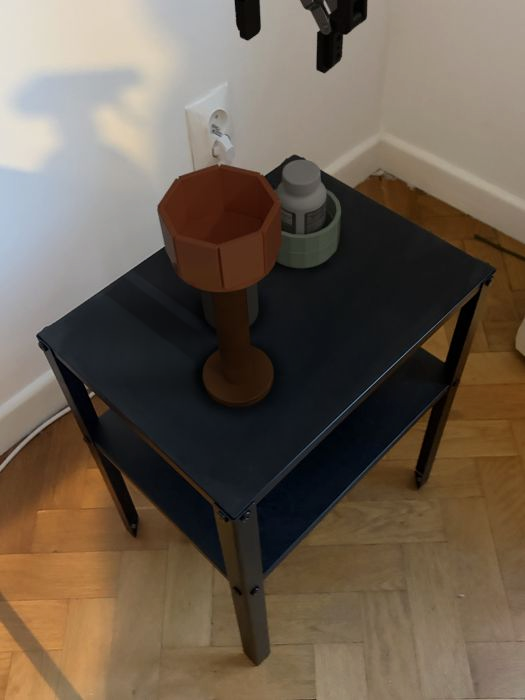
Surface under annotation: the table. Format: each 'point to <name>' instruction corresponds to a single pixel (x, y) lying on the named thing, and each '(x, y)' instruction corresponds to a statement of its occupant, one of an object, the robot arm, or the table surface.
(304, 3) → the robot arm
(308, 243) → the back bowl
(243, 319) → the stand
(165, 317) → the table surface
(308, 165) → the pill bottle
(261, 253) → the raised bowl
